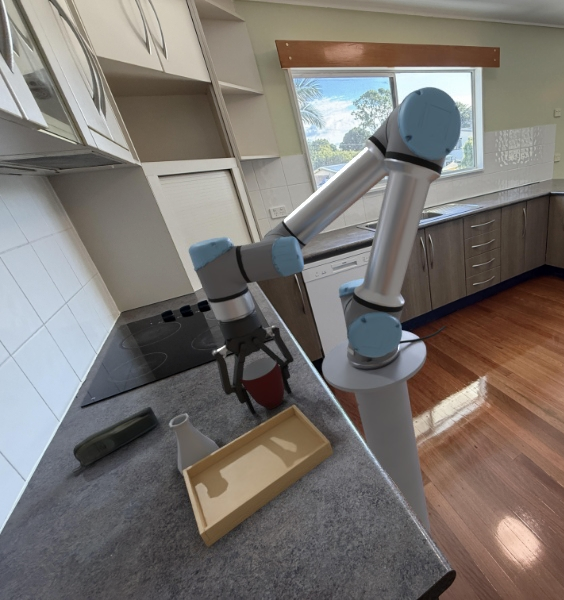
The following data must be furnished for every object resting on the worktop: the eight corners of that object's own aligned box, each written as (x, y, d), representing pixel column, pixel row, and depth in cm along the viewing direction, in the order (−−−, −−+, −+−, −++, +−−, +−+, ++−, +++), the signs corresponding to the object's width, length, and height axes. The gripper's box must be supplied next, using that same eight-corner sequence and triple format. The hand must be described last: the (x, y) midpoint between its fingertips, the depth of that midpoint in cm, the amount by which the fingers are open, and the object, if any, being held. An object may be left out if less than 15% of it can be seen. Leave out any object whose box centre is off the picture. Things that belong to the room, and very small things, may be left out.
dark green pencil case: (148, 403, 72) (58, 450, 61) (152, 408, 70) (61, 457, 59) (157, 420, 74) (71, 469, 63) (161, 425, 72) (74, 475, 61)
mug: (243, 406, 74) (226, 372, 70) (272, 384, 79) (257, 352, 75) (269, 420, 68) (251, 384, 63) (298, 396, 73) (284, 361, 69)
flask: (219, 437, 65) (201, 400, 61) (221, 461, 59) (200, 422, 55) (179, 456, 62) (157, 417, 58) (177, 483, 56) (152, 442, 52)
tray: (297, 414, 68) (294, 404, 67) (333, 453, 57) (329, 441, 56) (188, 482, 56) (182, 470, 55) (208, 547, 45) (200, 534, 44)
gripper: (277, 293, 73) (303, 372, 82) (176, 330, 61) (219, 418, 70) (291, 299, 68) (317, 383, 77) (182, 341, 56) (228, 435, 65)
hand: (270, 400), depth 73 cm, fingers closed on mug, 8 cm apart
